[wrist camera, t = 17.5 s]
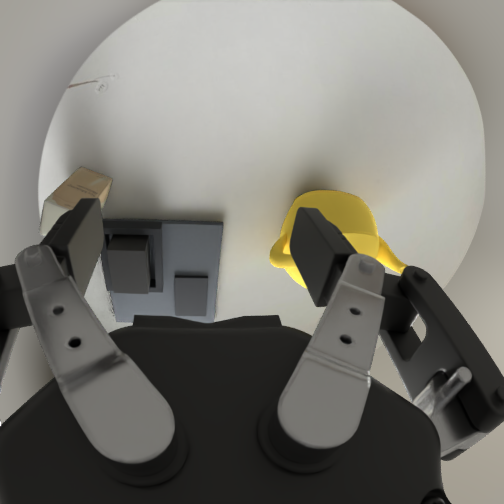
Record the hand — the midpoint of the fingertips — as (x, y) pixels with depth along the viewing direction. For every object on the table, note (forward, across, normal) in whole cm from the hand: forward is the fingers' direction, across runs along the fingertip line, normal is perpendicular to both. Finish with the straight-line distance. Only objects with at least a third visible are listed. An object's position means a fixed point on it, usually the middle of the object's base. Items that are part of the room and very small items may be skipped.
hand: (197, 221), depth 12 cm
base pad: (+26, +4, +23) cm, 35 cm away
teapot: (+26, -19, +13) cm, 35 cm away
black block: (+25, +8, +18) cm, 32 cm away
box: (+26, +13, +9) cm, 31 cm away
